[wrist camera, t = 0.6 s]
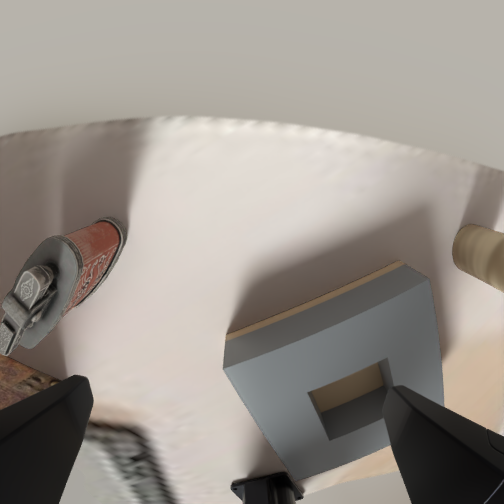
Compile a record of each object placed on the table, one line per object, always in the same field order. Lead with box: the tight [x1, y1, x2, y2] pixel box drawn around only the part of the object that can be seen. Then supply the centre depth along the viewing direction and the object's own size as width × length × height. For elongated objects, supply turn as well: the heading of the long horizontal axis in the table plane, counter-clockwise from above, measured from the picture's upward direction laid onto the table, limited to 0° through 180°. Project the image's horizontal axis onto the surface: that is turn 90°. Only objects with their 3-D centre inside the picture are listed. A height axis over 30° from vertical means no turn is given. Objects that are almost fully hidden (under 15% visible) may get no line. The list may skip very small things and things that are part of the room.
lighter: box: [0, 217, 127, 356], centre depth 17 cm, size 8×3×10 cm, turn 137°
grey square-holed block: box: [223, 261, 444, 481], centre depth 22 cm, size 14×14×4 cm
